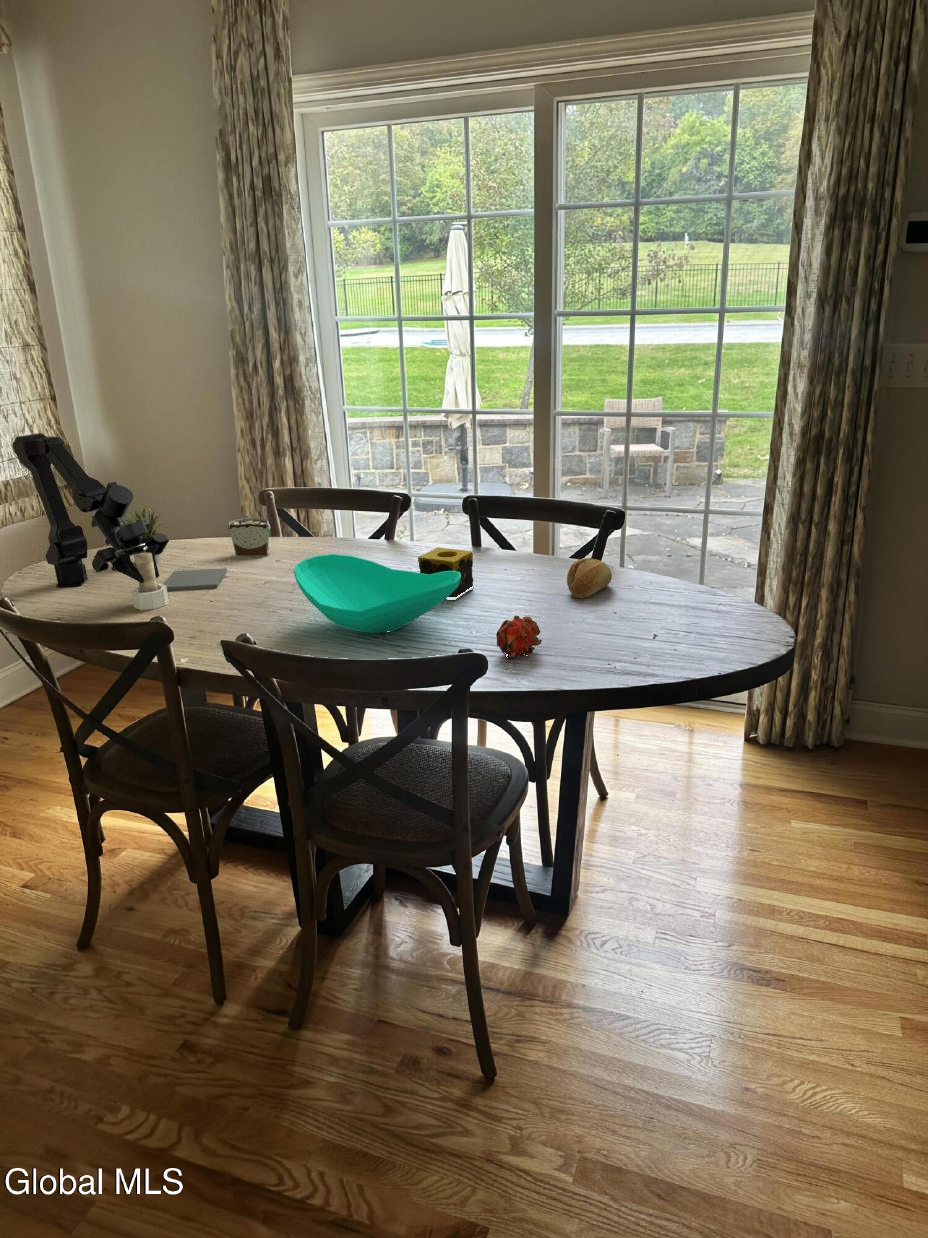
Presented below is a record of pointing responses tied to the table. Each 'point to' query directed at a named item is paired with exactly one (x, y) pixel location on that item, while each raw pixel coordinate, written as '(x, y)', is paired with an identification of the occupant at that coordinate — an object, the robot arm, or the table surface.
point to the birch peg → (146, 572)
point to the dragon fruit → (518, 636)
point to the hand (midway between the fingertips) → (150, 579)
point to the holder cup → (150, 598)
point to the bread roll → (588, 577)
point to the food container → (250, 536)
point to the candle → (449, 565)
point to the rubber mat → (195, 579)
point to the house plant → (146, 536)
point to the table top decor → (370, 591)
